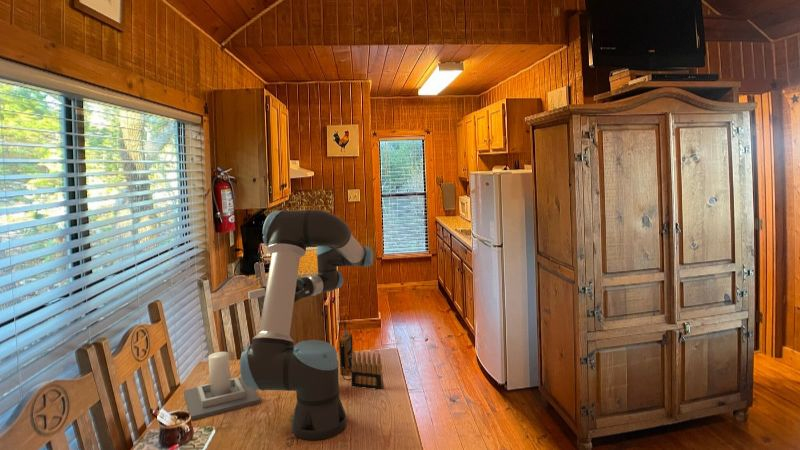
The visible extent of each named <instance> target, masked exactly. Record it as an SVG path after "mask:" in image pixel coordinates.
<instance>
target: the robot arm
mask: <svg viewBox="0 0 800 450" xmlns="http://www.w3.org/2000/svg"><path fill="white" fill-rule="evenodd" d="M262 235H263V236H262V241H263V243H264V245H265V246H266V247H267V251H268V253H269V254H270V255H271V256H270V262H269V270H268V275H267V280H266V285H265V286H261V288H258V289H253V290H250V291H247V297H248V300H253V299H257V298H262V297H263V298H264V299H263V306H262V311H261V319H260V325H259V331H258V333H257V334H256V335H255V336H253V338H252V340H251V345H247V346H246V347H244V349H243V350H242V353H241V355H240V361H239V372H240V378H241V377H242V380H243V382H244V384H245V385H246V386H247V387H248V388H250V389H255V390H258V391H282V392H283V391H284V392H286V391H289V392H296V393H295V394H296V403H295V407H294V411H293V413H292V414H293V415H292V418H291V431H292V433H293V435H294V436H295V437H297V438H299V439H302V440H307V441H319V440H320V441H322V440H326V439H329V438H332V437H334V436H337V435H338V434H340V433H341V432H343V431H344V430H345V429H346V427H347V424H348V423H347V414H346V411H345V409H344V406H343V403H342V400H341V398H340V386H339V385H340V384H339V360H338V351H337V349H336V347H335V346H334V345H332V344H331V343H329V342H327V341H325V340H318V339H309V340H300V341H299V342H297V343H295V341H294V340H293V339H292V337H291V336H290V333H291V325H292V320H293V319H292V317H293V311H294V304H295V302H298V301H299V300H301V299H305V298H308V297H311V296H313V297H316V296H317V295H320V294H322V293H326V292H327V293H328V292H332V291H335V290H337V289H340V288H341V287H342V286H343V284H344V277H343V274H342V272H341V271H340V270H338V267H363V268H364V267H371V266H372V265H373V263H374V251H373V248H372V247H369V246H362V245H361V244H360V243H359V242H358V240H357V239H356V238H355V237H354V236H353V234H352V230H351V228H350V226H349V225H348V223H347V222H345V220H344V219H342V218H341V217H339V216H337V215H335V214H333V213H331V212H328V211H326V210H322V209H289V210H288V209H282V210H274V211H272V212H270V213H269V214H268V215H267V217H266V218H265V220H264V223H263V227H262ZM309 247H316V261H317V262H316V263H317V274H311V275H306V276H303V277H299V278H298V274H299V267H300V260H301V258H302V257H304V256H305V255H306V252H307V248H309ZM294 343H295V344H294Z"/></svg>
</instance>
